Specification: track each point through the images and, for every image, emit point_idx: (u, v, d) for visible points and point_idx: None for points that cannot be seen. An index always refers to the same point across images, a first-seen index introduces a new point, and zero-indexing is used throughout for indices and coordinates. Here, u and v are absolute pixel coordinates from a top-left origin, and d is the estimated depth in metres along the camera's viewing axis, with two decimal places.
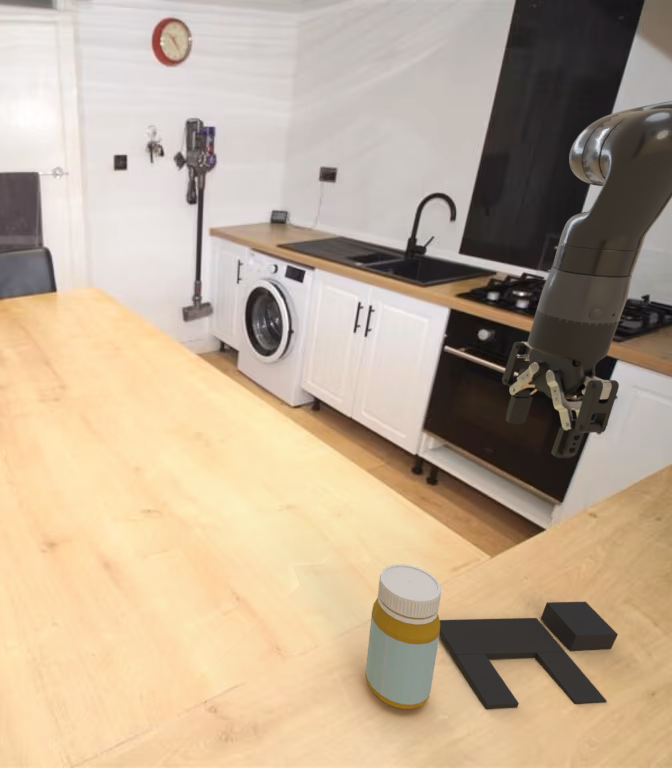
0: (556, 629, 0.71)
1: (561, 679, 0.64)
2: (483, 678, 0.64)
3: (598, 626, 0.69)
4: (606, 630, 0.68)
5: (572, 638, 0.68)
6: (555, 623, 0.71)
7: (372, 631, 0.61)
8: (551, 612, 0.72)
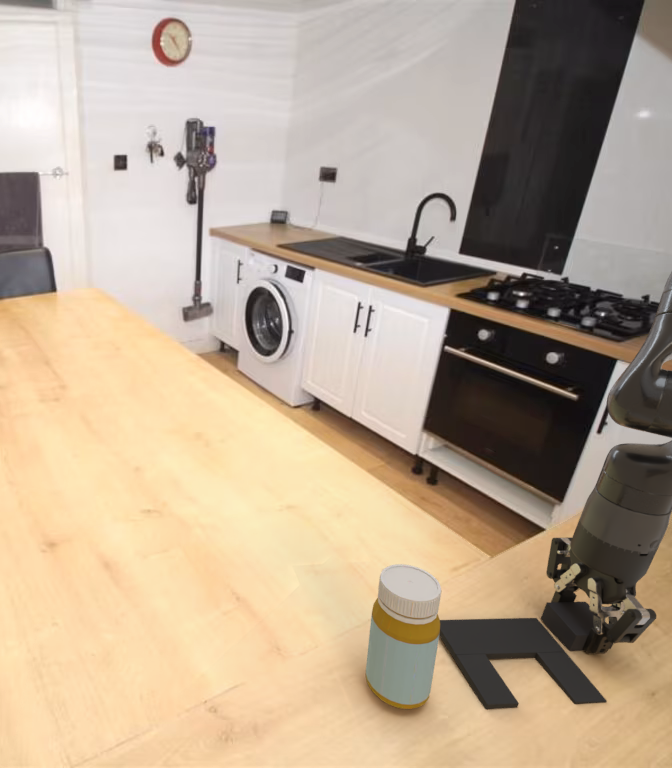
0: (556, 629, 0.71)
1: (561, 679, 0.64)
2: (483, 678, 0.64)
3: None
4: None
5: (572, 638, 0.68)
6: (555, 623, 0.71)
7: (372, 631, 0.61)
8: (551, 612, 0.72)
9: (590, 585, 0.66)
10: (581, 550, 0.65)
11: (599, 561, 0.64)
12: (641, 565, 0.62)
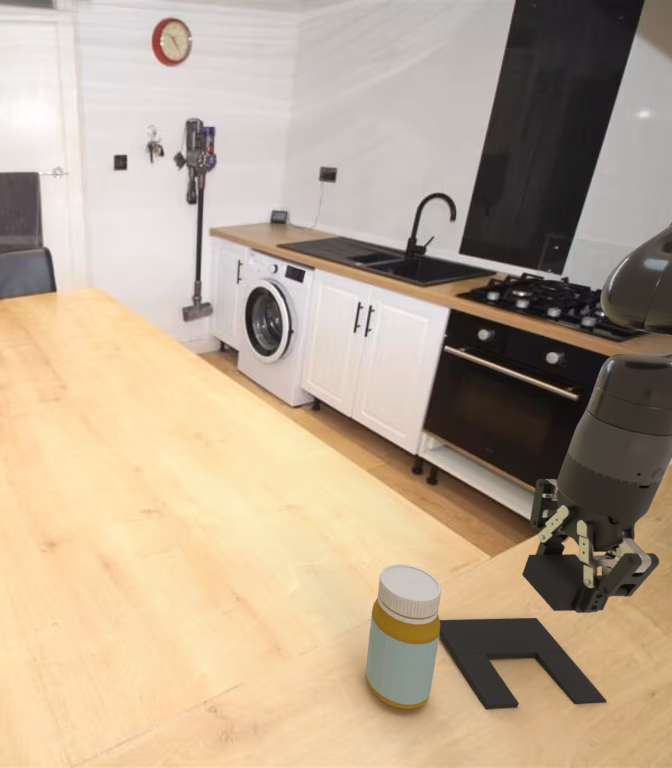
0: (539, 585, 0.60)
1: (561, 679, 0.64)
2: (483, 678, 0.64)
3: None
4: None
5: (557, 594, 0.57)
6: (538, 578, 0.60)
7: (372, 631, 0.61)
8: (534, 565, 0.61)
9: (580, 529, 0.55)
10: (568, 486, 0.54)
11: (590, 497, 0.53)
12: (641, 500, 0.51)
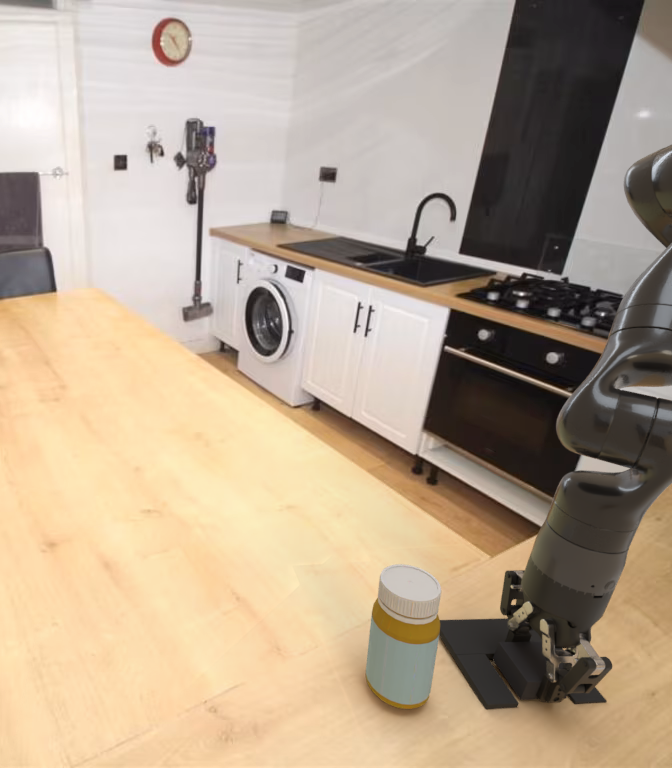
0: (508, 673, 0.64)
1: None
2: (483, 678, 0.64)
3: None
4: None
5: (523, 685, 0.61)
6: (507, 666, 0.64)
7: (372, 631, 0.61)
8: (503, 653, 0.65)
9: (542, 627, 0.59)
10: (531, 589, 0.59)
11: (550, 602, 0.57)
12: (596, 608, 0.55)
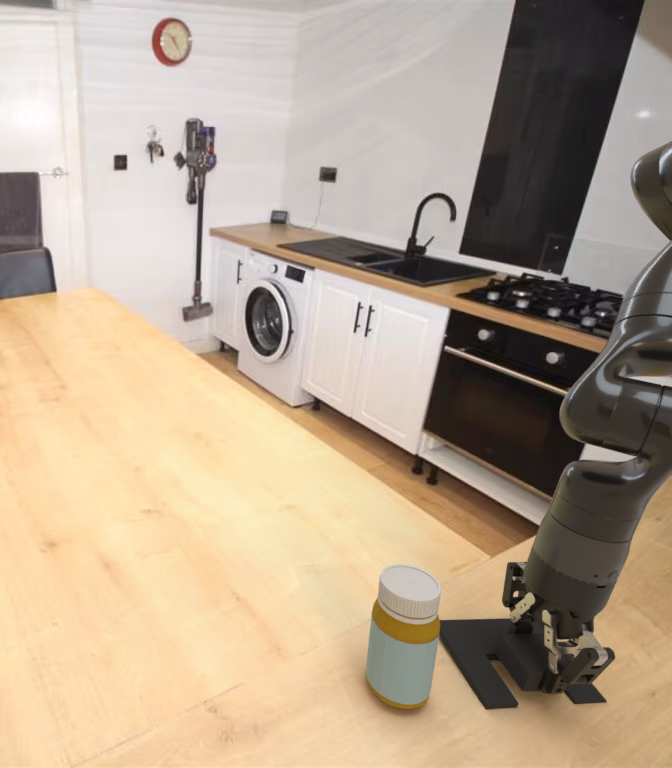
0: (509, 664, 0.64)
1: None
2: (483, 678, 0.64)
3: None
4: None
5: (525, 676, 0.61)
6: (508, 658, 0.64)
7: (372, 631, 0.61)
8: (505, 645, 0.64)
9: (545, 618, 0.59)
10: (533, 579, 0.58)
11: (553, 592, 0.56)
12: (599, 598, 0.55)
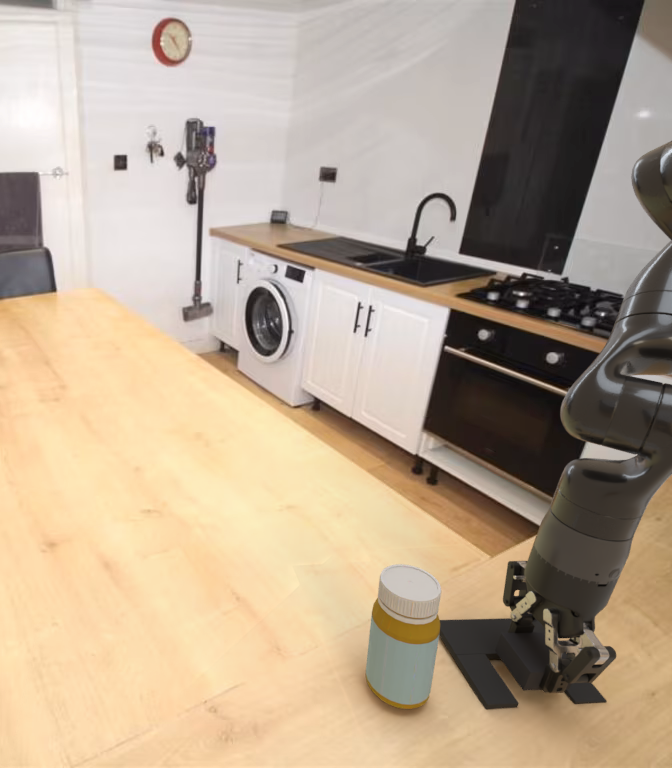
0: (510, 663, 0.64)
1: None
2: (483, 678, 0.64)
3: None
4: None
5: (526, 675, 0.61)
6: (509, 657, 0.64)
7: (372, 631, 0.61)
8: (506, 644, 0.64)
9: (546, 617, 0.59)
10: (534, 578, 0.58)
11: (554, 591, 0.56)
12: (600, 597, 0.55)
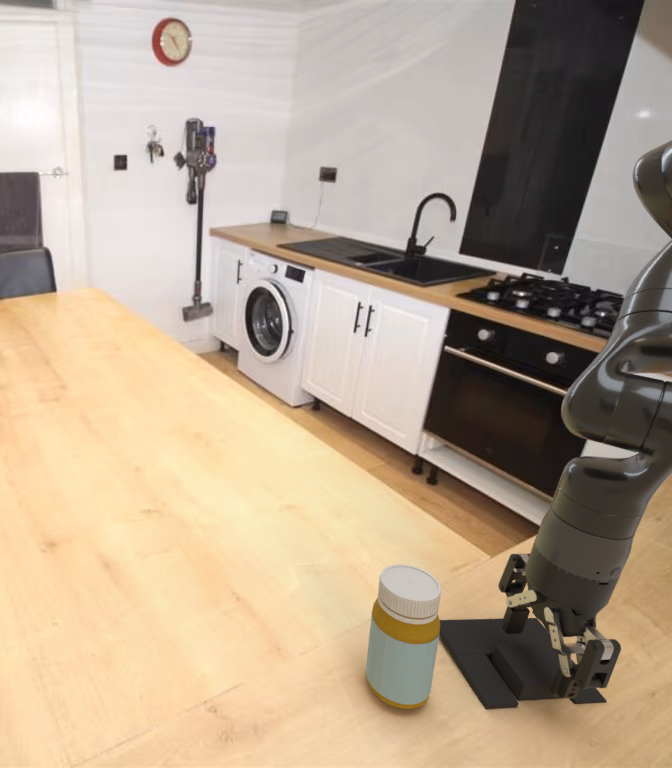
0: (505, 675, 0.65)
1: None
2: (483, 678, 0.64)
3: (549, 673, 0.63)
4: None
5: (520, 687, 0.62)
6: (504, 669, 0.65)
7: (372, 631, 0.61)
8: (500, 656, 0.65)
9: (546, 615, 0.59)
10: (535, 577, 0.58)
11: (554, 590, 0.56)
12: (601, 595, 0.54)
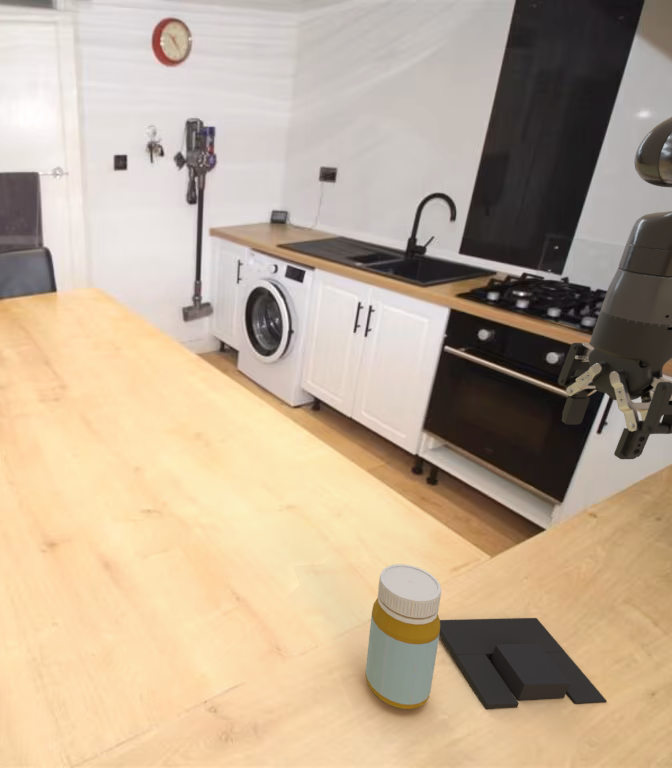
0: (505, 675, 0.65)
1: None
2: (483, 678, 0.64)
3: (549, 673, 0.63)
4: (558, 679, 0.62)
5: (520, 687, 0.62)
6: (504, 669, 0.65)
7: (372, 631, 0.61)
8: (500, 656, 0.65)
9: (612, 379, 0.62)
10: (602, 339, 0.61)
11: (623, 344, 0.59)
12: (669, 342, 0.57)
